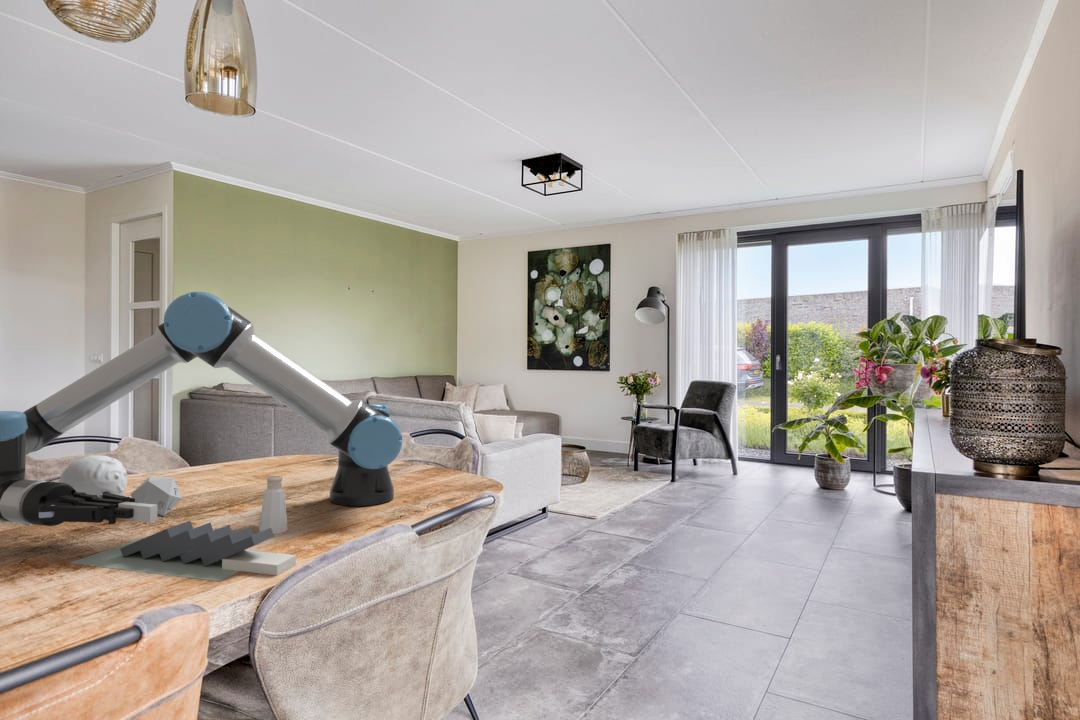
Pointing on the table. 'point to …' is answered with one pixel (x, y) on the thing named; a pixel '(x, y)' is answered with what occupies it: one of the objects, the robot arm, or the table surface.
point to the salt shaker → (273, 507)
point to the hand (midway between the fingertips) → (153, 513)
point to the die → (158, 493)
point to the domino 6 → (259, 562)
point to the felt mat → (157, 564)
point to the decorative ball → (96, 475)
